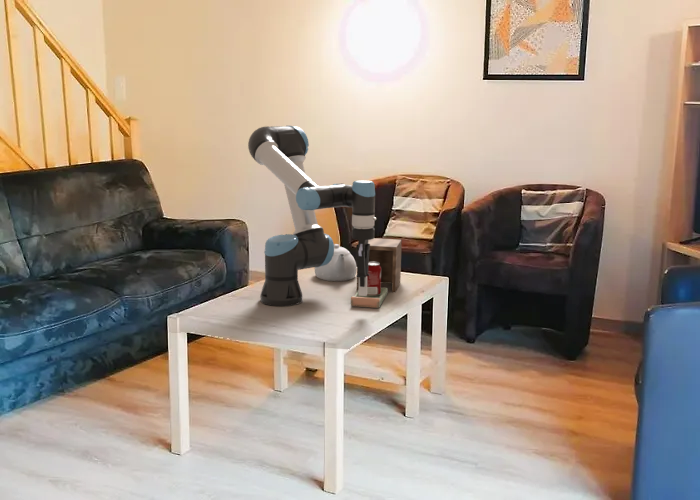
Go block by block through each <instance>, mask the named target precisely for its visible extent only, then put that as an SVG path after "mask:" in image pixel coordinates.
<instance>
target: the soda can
mask: <svg viewBox="0 0 700 500" xmlns="http://www.w3.org/2000/svg"><path fill="white" fill-rule="evenodd" d="M368 270H369V271H368V274H370V275H369V276H367V296H368V297H376V296H378V295H380V294H381V288H382V283H381V267H380V263H378V262H369V267H368Z"/></svg>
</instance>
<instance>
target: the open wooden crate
mask: <svg viewBox="0 0 700 500" xmlns="http://www.w3.org/2000/svg"><path fill="white" fill-rule="evenodd" d="M368 244H370V249H369V262H378V263H380V267H381V284H382V283H385V284H391V293H396V291H397V290H398V288H399V286H400V285H401V276H402V275H401V274H402V244H403V243H402V239H395V238H394V239H392V238H377V237H376V238H375V237H374V239H371V240H368ZM357 274H358V273H357V272H356V275H357ZM356 290H357V291H358V290H359V277H356Z"/></svg>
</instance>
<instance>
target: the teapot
mask: <svg viewBox="0 0 700 500" xmlns="http://www.w3.org/2000/svg"><path fill="white" fill-rule="evenodd" d="M314 274H315V277H316V278H318V279H320V280H323V281H328V282H345V281H350V280H352V279H354V278H355V277H356V275H357V261H356V260H355V258H354V256H353V255H352V254H351V252H350V251H349V250H348V249H347V248H345V247H342V246H340V244H338V243H334V254H333V256H332V259H331V261H330V262H329V263H328V264H327V265H324V266H320V267H314Z"/></svg>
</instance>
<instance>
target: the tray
mask: <svg viewBox="0 0 700 500" xmlns="http://www.w3.org/2000/svg"><path fill="white" fill-rule="evenodd" d="M387 295H388V287H381V294H380V295H378V296H376V297H368V296H359V290H357V291H356V293H355V294H354V295H353V296H351V297H350V307H360V308H361V307H362V308H373V309H374V308H376V309H379V308H380V307H381V305H383V302H384V300H385V298H386V297H387Z"/></svg>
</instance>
